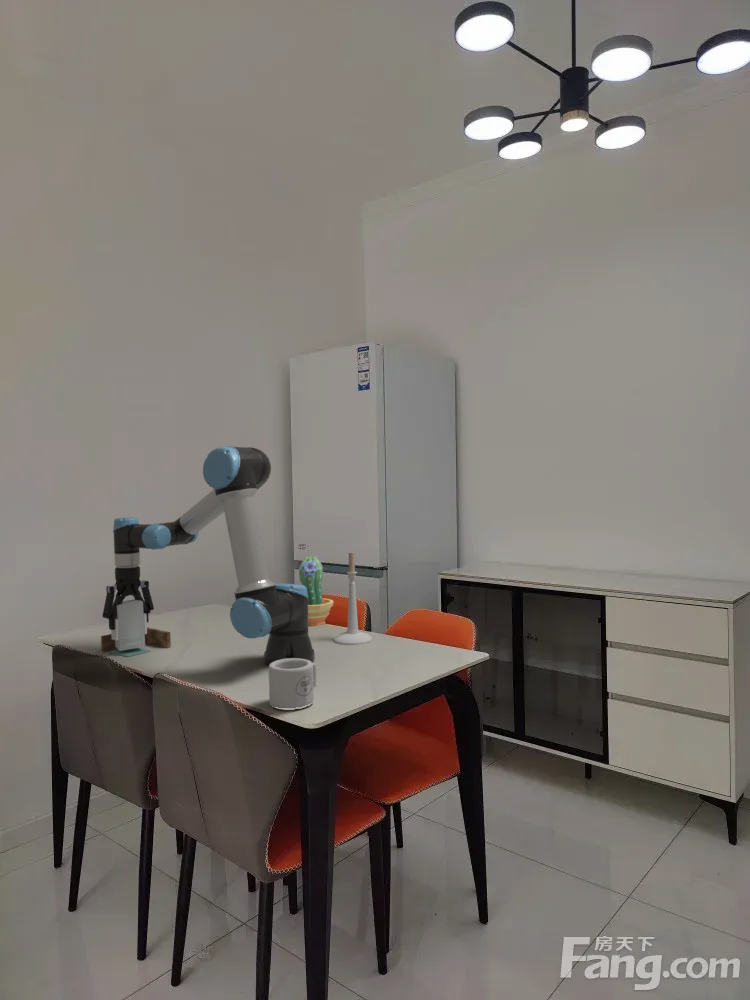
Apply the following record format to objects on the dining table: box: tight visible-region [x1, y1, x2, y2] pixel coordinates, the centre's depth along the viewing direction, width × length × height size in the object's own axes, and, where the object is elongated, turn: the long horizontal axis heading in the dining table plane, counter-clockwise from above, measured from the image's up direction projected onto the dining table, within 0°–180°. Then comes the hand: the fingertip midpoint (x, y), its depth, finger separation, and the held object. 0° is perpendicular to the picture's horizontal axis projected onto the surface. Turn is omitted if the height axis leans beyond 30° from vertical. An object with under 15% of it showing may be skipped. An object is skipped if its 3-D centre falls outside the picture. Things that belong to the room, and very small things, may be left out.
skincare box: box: [113, 598, 146, 651], centre depth 220 cm, size 8×6×15 cm
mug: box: [268, 658, 317, 708], centre depth 170 cm, size 14×11×10 cm
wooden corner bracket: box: [100, 626, 172, 653], centre depth 223 cm, size 14×16×5 cm
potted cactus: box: [298, 555, 335, 627], centre depth 258 cm, size 15×15×25 cm
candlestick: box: [333, 551, 373, 646], centre depth 231 cm, size 13×13×30 cm
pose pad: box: [109, 647, 151, 658], centre depth 220 cm, size 10×8×1 cm
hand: (129, 636), depth 220 cm, fingers closed on skincare box, 9 cm apart
